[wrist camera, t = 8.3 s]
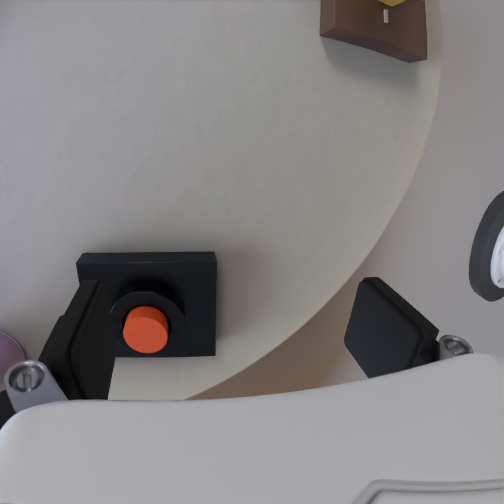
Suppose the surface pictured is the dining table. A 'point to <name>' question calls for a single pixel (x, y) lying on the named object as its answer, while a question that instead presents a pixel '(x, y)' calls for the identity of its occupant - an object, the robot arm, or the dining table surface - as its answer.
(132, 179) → the dining table surface
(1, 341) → the beverage can
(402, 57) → the panel
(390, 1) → the lock knob
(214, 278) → the button block
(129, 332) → the button
